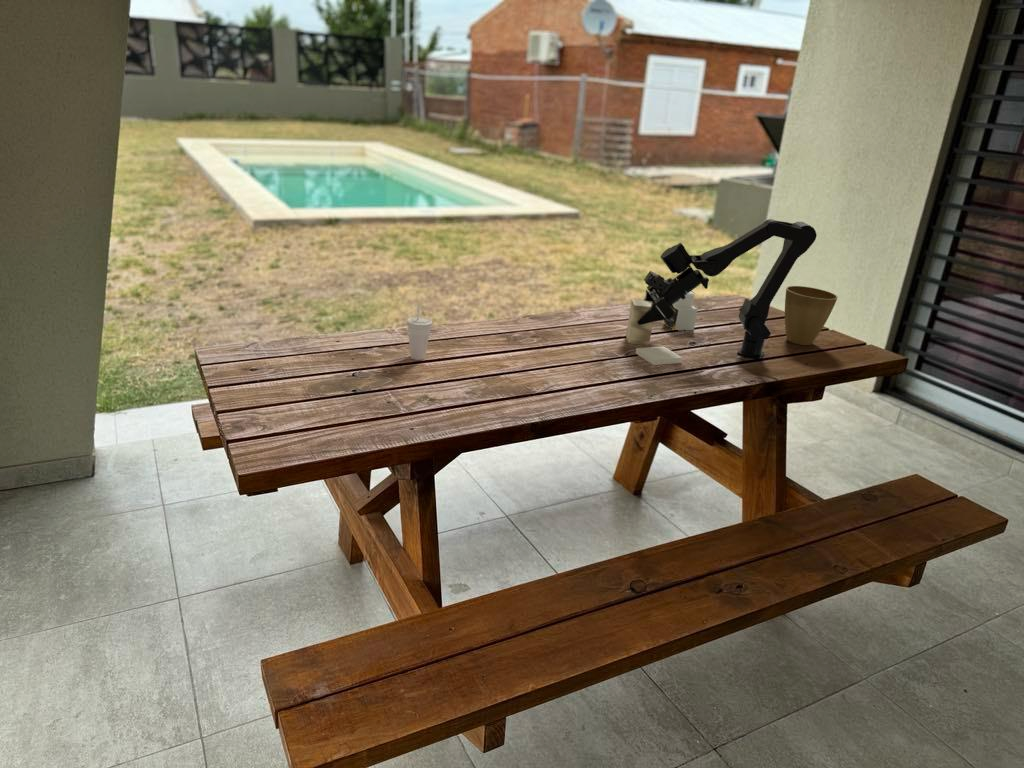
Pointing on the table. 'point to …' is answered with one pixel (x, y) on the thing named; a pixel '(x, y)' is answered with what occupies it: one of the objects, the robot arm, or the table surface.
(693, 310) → the medicine bottle
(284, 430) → the table surface
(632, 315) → the beige rectangular block
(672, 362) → the top slab
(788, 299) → the plant pot
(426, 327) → the smoothie
